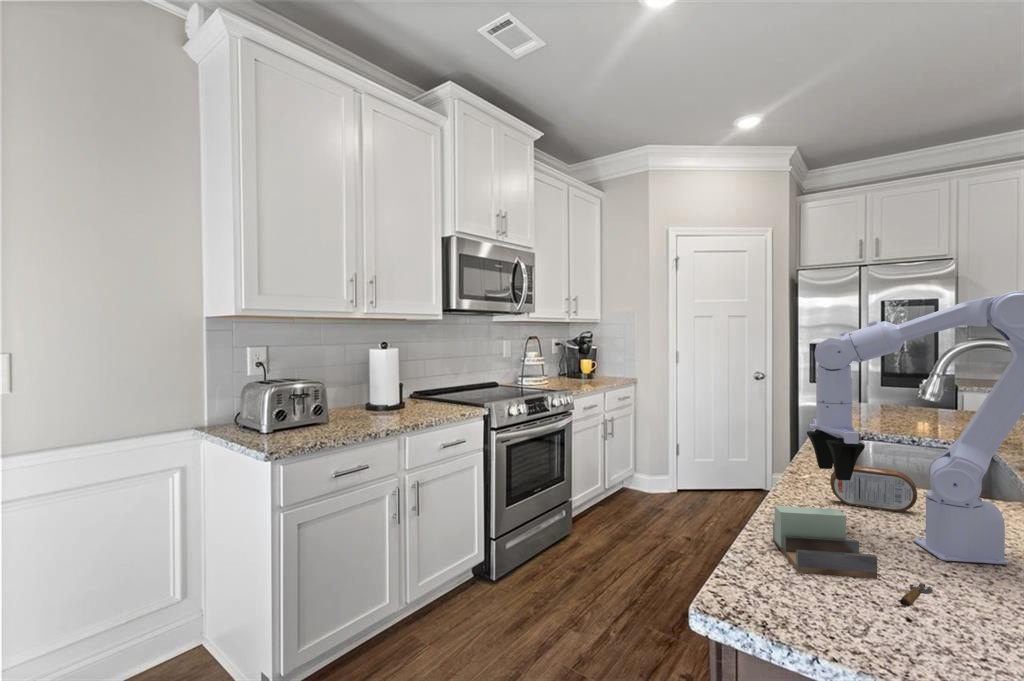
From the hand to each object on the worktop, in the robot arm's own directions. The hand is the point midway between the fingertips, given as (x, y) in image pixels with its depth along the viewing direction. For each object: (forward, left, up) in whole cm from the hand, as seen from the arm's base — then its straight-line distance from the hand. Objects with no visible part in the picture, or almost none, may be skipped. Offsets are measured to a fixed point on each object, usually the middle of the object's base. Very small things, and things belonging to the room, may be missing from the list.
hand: (833, 473), depth 95 cm
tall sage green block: (+8, +11, -10) cm, 17 cm away
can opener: (-1, +24, -11) cm, 27 cm away
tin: (-13, -14, -11) cm, 22 cm away
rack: (+8, +14, -10) cm, 19 cm away
